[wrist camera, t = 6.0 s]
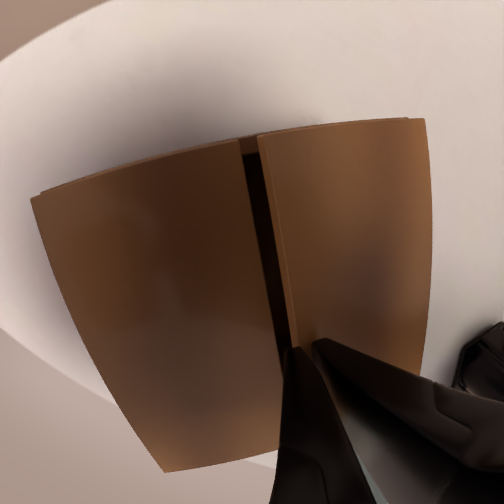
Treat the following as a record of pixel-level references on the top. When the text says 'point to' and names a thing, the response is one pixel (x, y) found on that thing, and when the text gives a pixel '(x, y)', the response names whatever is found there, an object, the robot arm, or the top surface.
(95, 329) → the wooden box
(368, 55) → the top surface
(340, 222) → the flap
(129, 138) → the top surface
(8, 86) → the top surface
